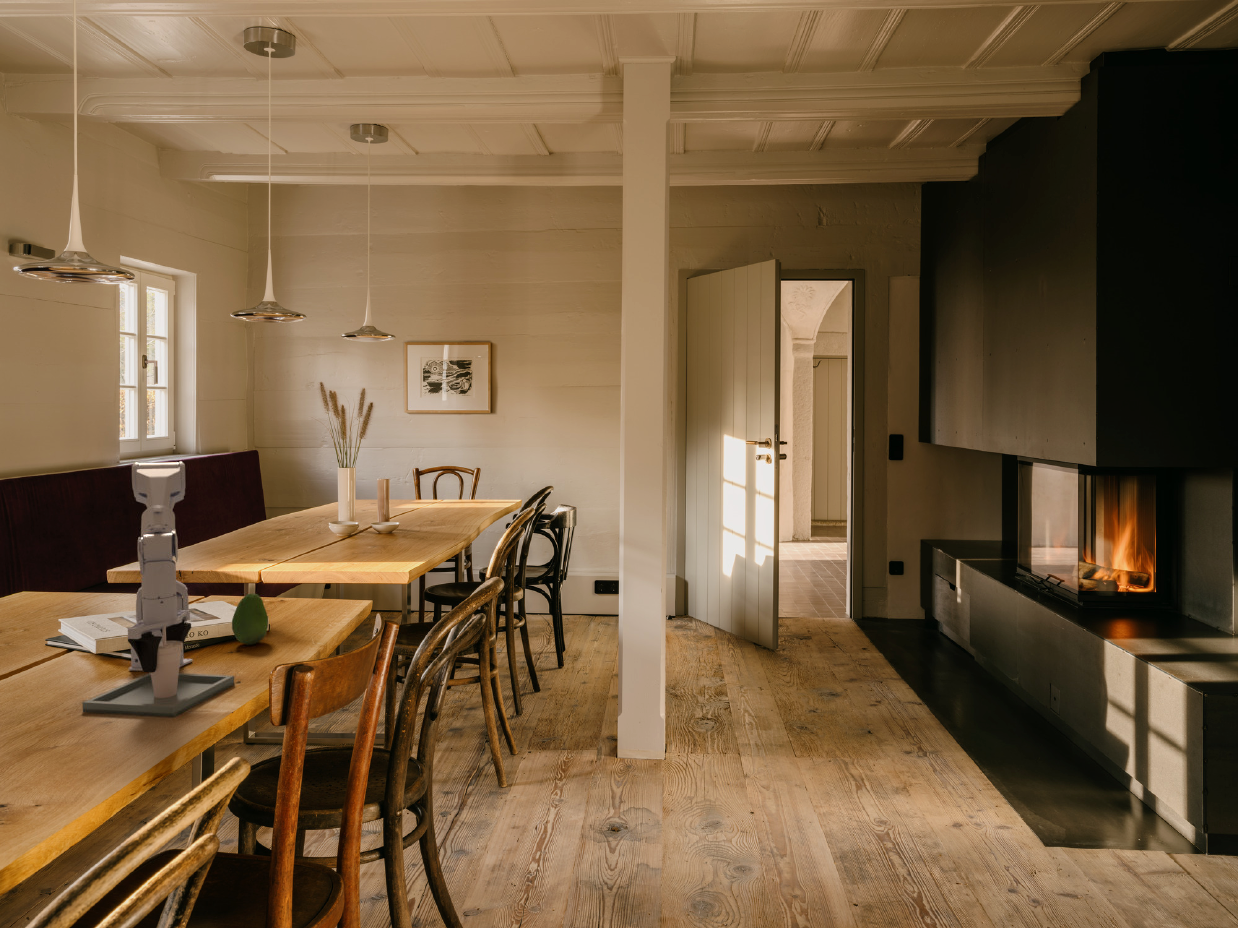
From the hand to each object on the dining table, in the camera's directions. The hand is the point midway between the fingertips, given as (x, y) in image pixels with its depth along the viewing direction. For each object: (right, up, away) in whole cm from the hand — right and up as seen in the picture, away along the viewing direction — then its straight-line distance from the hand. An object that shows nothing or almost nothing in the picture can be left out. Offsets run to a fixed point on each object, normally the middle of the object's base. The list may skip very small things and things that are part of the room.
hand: (161, 666), depth 155 cm
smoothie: (+1, -6, 0) cm, 6 cm away
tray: (0, -6, 0) cm, 6 cm away
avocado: (0, -4, +38) cm, 38 cm away
